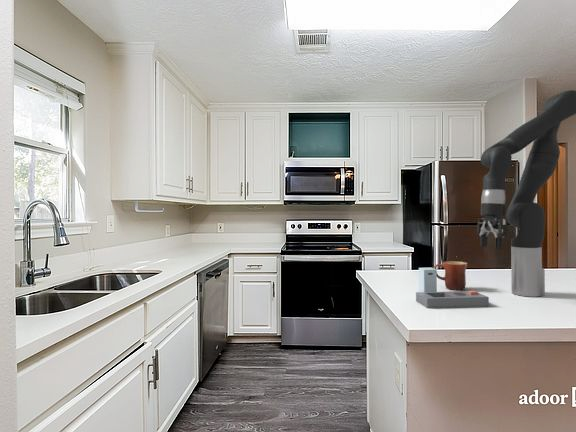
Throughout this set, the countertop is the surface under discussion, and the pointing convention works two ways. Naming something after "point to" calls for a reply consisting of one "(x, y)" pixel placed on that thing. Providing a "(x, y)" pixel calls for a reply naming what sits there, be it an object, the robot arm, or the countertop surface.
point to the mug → (454, 275)
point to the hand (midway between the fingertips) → (490, 247)
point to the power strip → (452, 299)
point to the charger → (427, 280)
